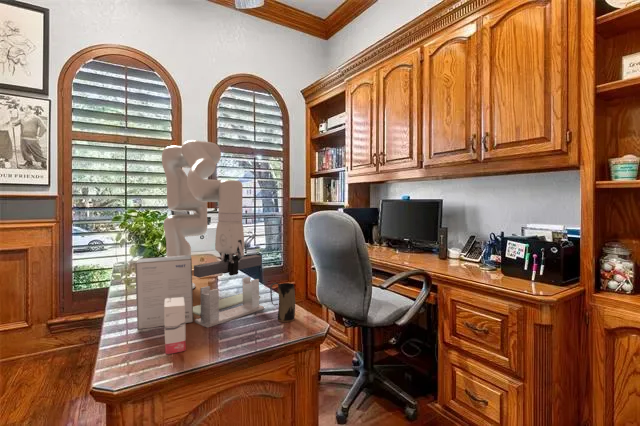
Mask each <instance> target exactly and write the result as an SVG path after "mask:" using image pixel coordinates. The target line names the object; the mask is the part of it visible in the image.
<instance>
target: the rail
mask: <svg viewBox="0 0 640 426" xmlns="http://www.w3.org/2000/svg"><path fill="white" fill-rule="evenodd" d="M229 263H230V259H229V260H223V261H221V260H219V261H212V262H206V263H200V264H195V265H193V276H194V277H196V278H205V277H210V276H215V275H218V274H223V273H225V272H229ZM259 266H262V255H259V254H253V255H247V256H244V257H242V258H241V259H240V261H239V262H238V271H239V270H243V269H249V268H253V267H259ZM225 274H226V273H225Z"/></svg>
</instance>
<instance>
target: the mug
mask: <svg viewBox="0 0 640 426" xmlns="http://www.w3.org/2000/svg"><path fill="white" fill-rule="evenodd" d="M273 285H277V289H278V303H275V304H274V303H273V292H272V291H273V288H272V287H273ZM269 289H270V290H269V292H270V300H271V304H272V306H275V307H276V306H278V308H277V309H278V311H277V321H278V322H280V323H293V322H295V319H296V317H295V316H296V293H295V292H296V291H295V284H294V283H291V282H289V283H288V282H285V283H284V282H283V283H278V282H273V283H271V284H270V286H269Z"/></svg>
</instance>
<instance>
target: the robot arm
mask: <svg viewBox="0 0 640 426" xmlns="http://www.w3.org/2000/svg"><path fill="white" fill-rule="evenodd" d="M161 153H162V154H161V165H162V169H163V172H164V175H165V178H166V179H165V180H166V203H167V208H168V209H169V210H170V211H173V212H193V214H192V213H191V214H188V213H187V214H172V215H168V216H167V217H166V218H165V219H164V220H163V231H164V234H165V235H164V237H165V243H166V244H165V246H166V247H165V248H166V257H172V256H187V255H191V256H192V248H191V245H190V243H189V242H188V241H187V239H186V238H187V237H199V236H203V235H206V233H207V230H208V203H218V213H217V214H218V218H217V219H218V222H217V225H216V230H215V241H214V242H215V243H214V247H215V251H216V252H217V253H218V254H219V256H220V261H223V260H229V259H230V263H229V272H225V273H222V274H223V275H224V274H228V275H229V276H230V277H231V276H237V275H238V274H239V270H238V262H239V261H240V259H241V258H242V257H245V252H244V251H245V233H244V226H243V225H244V224H243V190H244V189H243V188H244V187H243V183H242V181H240V180H233V179H226V180H225V179H221V180H220V179H210V178H209V177H211V176H212V175H213V174H214V173H215V171H216V168H217V167H216V164H218V163H219V162H220V160H221V157H222V153H221V148H220V147H219V146H218V144H217V143H214V142H211V141H205V140H204V141H203V140H195V139H190V140H187V141H184V143H183V144H182V145H170V146H166V147H165V148H164V149H163V150H162V152H161ZM182 168H187V169H189V171H188V172H187V174H186V172H185V171H184V170H183V169H182ZM208 178H209V179H208ZM195 288H196V283H194V282H192V290H194V289H195Z"/></svg>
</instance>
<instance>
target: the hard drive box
mask: <svg viewBox="0 0 640 426" xmlns="http://www.w3.org/2000/svg"><path fill="white" fill-rule="evenodd" d="M192 261H193V260H192V254H191V255H187V256H172V257H167V256H159V257H148V258H145V257H144V258H139V259H138V260H137V261H135V263H134V267H135V291H136V292H135V294H136V295H135V296H136V319H137V320H136V323H137V324H136V327H137V330H141V329H142V330H143V329H151V328H157V327H165V325H164V304H165V303H164V302H165V299H166V298H177V297H184V302H185V324H187V323H188V324H189V323H193V322H194V313H193V307H194V305H193V304H194V302H193V301H194V300H193V298H194V297H193V289H192V283H193V265H192V264H193V263H192Z"/></svg>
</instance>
